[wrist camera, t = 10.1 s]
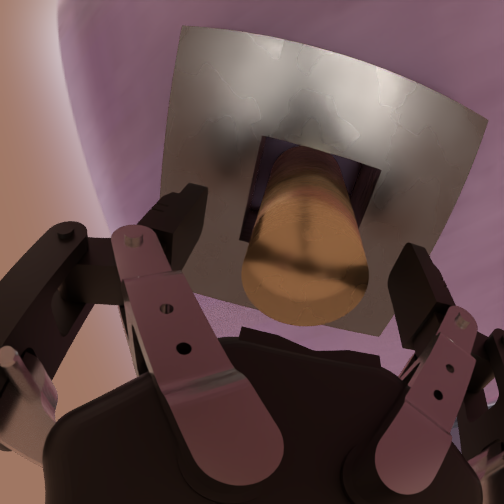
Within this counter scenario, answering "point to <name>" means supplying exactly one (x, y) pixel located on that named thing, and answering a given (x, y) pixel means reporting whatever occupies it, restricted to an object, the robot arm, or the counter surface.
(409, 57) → the counter surface
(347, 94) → the block
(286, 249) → the pipe stub
